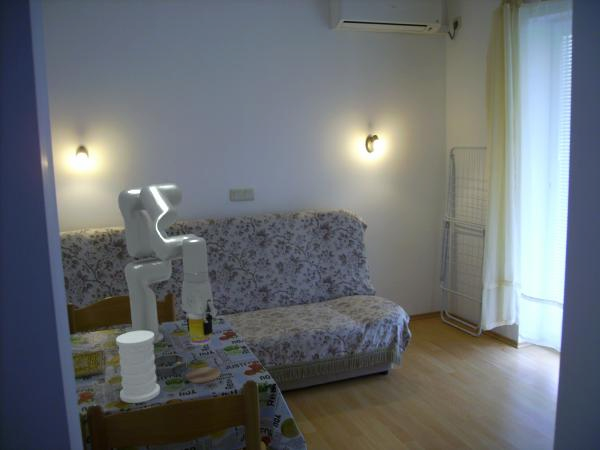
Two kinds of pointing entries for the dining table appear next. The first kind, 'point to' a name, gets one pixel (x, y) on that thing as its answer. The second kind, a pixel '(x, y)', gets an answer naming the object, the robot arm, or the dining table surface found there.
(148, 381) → the decorative container
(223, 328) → the dining table surface
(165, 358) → the collar
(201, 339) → the supplement bottle
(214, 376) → the coaster
